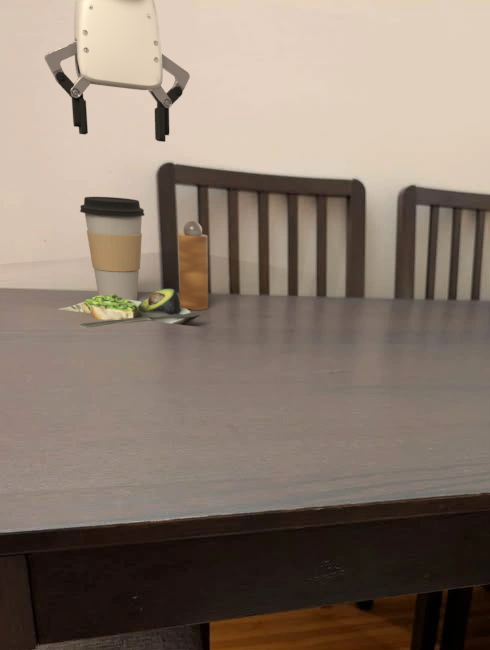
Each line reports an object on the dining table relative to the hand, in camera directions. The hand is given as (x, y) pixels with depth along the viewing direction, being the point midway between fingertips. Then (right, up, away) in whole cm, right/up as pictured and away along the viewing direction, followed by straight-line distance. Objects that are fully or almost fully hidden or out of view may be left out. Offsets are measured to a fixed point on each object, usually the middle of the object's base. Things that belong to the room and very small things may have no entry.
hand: (122, 137), depth 94 cm
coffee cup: (-8, -16, +23) cm, 28 cm away
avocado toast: (-2, -23, +7) cm, 24 cm away
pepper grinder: (+4, -17, +21) cm, 28 cm away
